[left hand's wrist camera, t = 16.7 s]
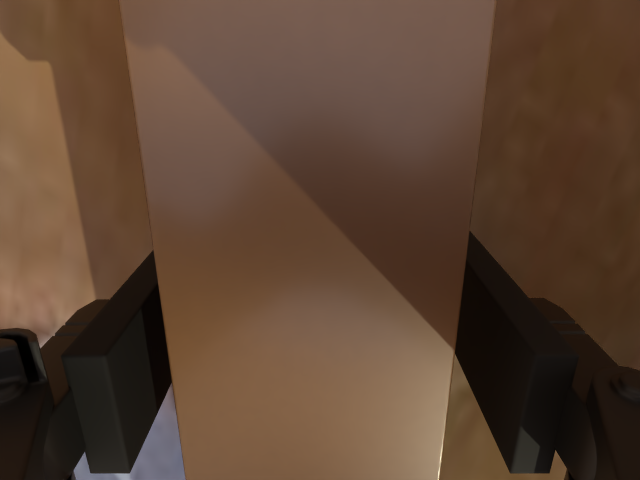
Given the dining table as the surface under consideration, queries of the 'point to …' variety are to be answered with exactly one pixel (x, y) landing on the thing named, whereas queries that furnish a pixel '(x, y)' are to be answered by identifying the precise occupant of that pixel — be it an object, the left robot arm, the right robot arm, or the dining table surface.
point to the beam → (310, 224)
